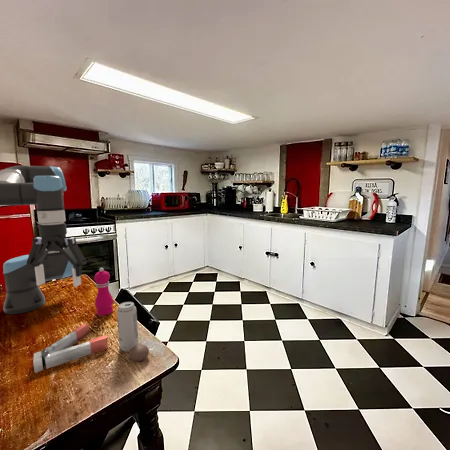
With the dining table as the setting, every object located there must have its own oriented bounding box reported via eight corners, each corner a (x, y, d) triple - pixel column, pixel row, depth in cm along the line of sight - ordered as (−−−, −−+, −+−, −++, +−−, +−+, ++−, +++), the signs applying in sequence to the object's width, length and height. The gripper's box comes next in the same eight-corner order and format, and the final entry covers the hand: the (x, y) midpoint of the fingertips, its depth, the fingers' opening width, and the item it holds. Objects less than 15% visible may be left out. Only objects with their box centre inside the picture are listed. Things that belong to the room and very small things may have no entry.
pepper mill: (107, 316, 106) (103, 270, 103) (92, 315, 107) (87, 270, 105) (117, 308, 113) (114, 265, 110) (103, 307, 114) (99, 264, 112)
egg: (125, 360, 79) (124, 348, 78) (141, 350, 84) (140, 339, 83) (137, 367, 75) (136, 355, 75) (153, 357, 80) (152, 345, 80)
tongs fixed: (34, 373, 74) (32, 359, 73) (35, 363, 78) (33, 350, 77) (108, 348, 85) (107, 335, 84) (105, 341, 89) (104, 329, 88)
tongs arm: (48, 361, 78) (46, 350, 78) (43, 360, 79) (41, 349, 78) (89, 333, 93) (88, 324, 93) (85, 333, 94) (84, 323, 94)
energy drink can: (120, 343, 87) (117, 302, 85) (138, 340, 89) (136, 299, 87) (118, 354, 82) (115, 310, 80) (138, 350, 83) (135, 307, 81)
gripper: (7, 224, 81) (16, 287, 84) (79, 225, 78) (85, 290, 81) (28, 221, 89) (35, 279, 92) (94, 221, 86) (99, 281, 89)
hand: (59, 284), depth 86 cm, fingers open, 13 cm apart
